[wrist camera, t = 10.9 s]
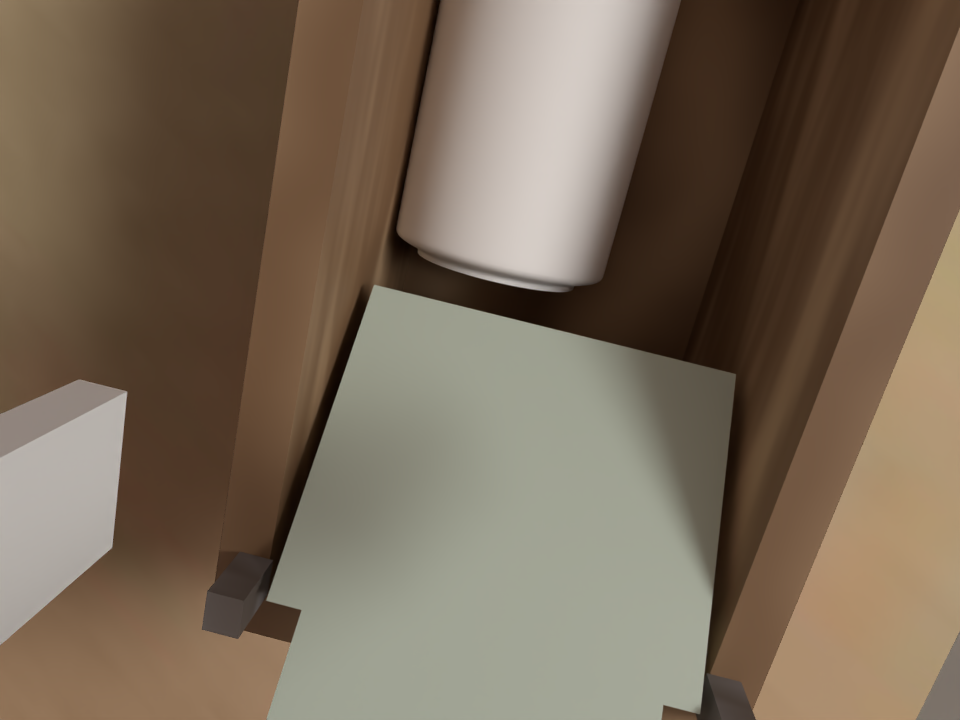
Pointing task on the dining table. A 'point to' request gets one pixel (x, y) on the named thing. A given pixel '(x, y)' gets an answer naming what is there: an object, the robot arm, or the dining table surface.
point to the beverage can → (531, 135)
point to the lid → (504, 526)
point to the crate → (634, 269)
